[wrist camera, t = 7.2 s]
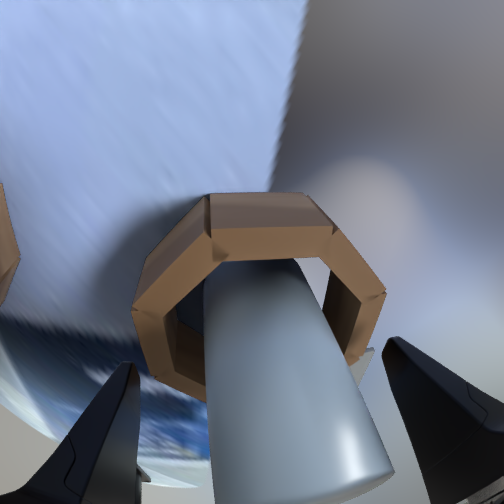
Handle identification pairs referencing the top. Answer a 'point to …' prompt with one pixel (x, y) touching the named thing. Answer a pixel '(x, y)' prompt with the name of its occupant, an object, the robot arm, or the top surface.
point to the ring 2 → (239, 249)
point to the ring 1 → (6, 249)
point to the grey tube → (281, 393)
